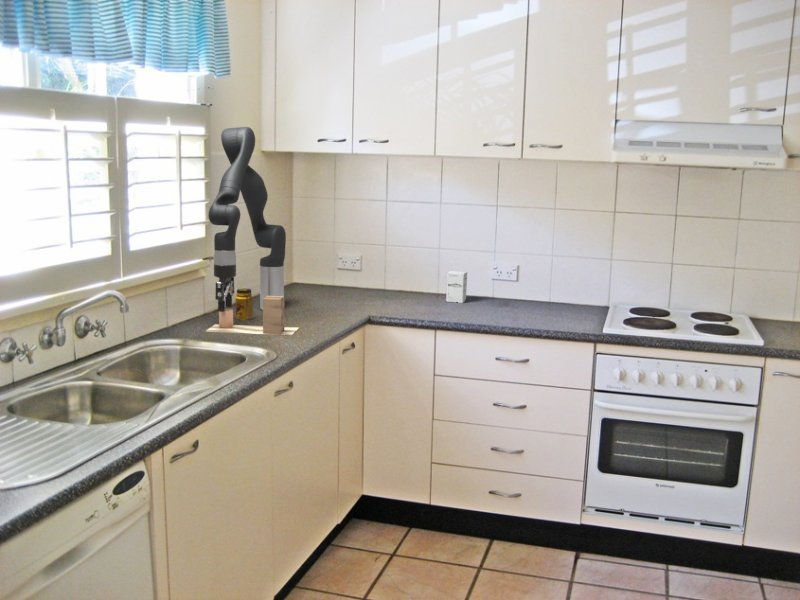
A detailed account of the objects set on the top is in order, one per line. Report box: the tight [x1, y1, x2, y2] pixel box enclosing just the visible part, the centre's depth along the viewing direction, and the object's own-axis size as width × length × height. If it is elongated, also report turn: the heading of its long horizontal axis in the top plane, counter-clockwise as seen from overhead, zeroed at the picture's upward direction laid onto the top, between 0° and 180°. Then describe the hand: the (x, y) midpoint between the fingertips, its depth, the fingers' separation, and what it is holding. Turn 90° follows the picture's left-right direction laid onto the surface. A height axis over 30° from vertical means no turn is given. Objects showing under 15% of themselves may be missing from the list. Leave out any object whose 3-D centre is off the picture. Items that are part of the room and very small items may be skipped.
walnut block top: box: [262, 295, 285, 317], centre depth 287 cm, size 6×6×6 cm
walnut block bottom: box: [262, 313, 285, 335], centre depth 288 cm, size 6×6×6 cm
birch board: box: [205, 323, 299, 336], centre depth 292 cm, size 12×30×1 cm, turn 85°
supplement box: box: [445, 270, 468, 304], centre depth 357 cm, size 7×7×13 cm
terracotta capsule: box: [218, 307, 234, 328], centre depth 294 cm, size 5×5×6 cm
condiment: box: [235, 288, 254, 322], centre depth 308 cm, size 7×8×12 cm
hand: (225, 309), depth 293 cm, fingers open, 8 cm apart
